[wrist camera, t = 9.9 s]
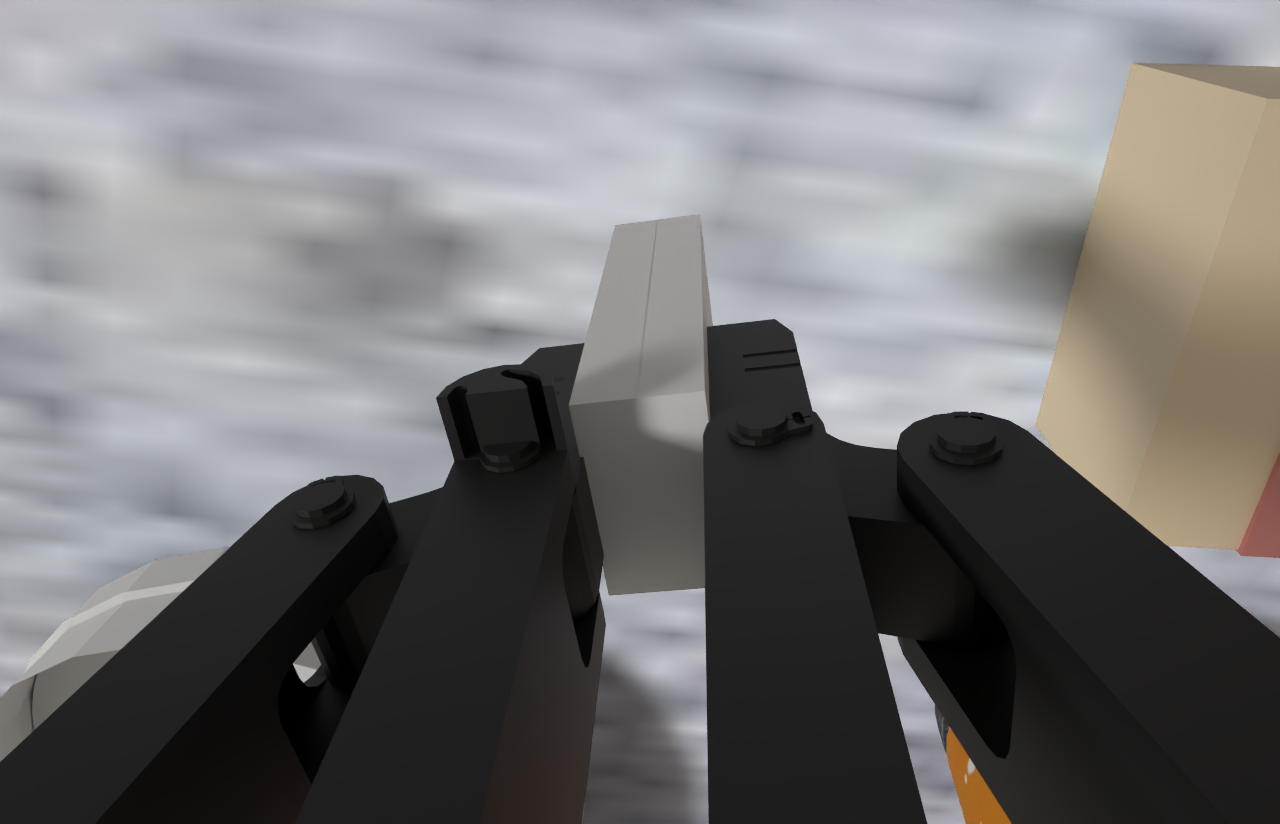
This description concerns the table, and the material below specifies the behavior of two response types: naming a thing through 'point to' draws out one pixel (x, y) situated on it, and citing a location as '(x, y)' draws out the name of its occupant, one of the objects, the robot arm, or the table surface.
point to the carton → (1180, 313)
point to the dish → (103, 641)
